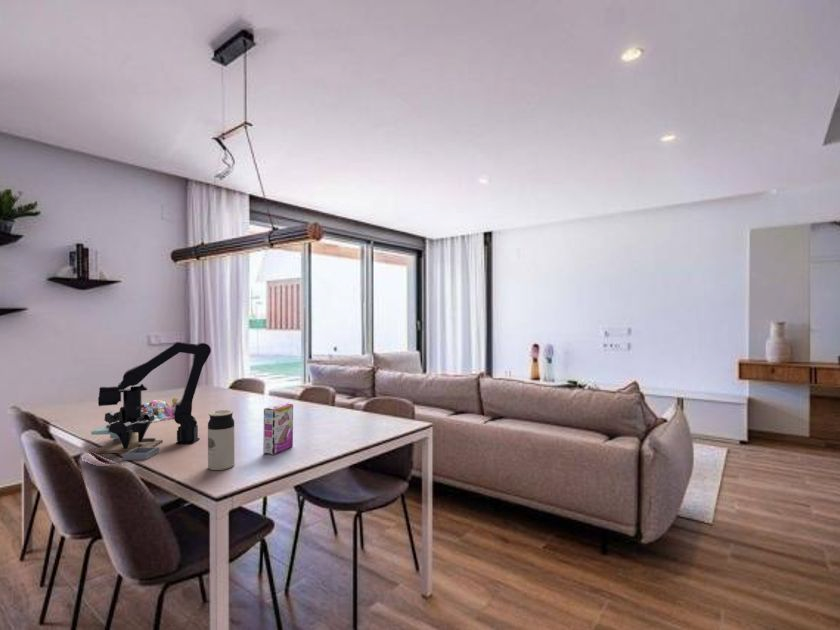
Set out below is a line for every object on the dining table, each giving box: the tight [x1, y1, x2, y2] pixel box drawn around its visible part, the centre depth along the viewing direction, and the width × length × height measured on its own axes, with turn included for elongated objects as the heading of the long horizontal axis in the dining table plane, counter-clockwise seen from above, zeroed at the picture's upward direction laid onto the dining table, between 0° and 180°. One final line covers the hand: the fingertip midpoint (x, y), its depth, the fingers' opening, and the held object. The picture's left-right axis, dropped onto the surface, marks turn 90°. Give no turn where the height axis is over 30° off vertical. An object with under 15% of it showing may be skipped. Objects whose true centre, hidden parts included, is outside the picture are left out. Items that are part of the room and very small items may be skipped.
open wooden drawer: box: [93, 437, 164, 454], centre depth 169 cm, size 18×12×2 cm
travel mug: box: [207, 409, 236, 471], centre depth 147 cm, size 8×8×18 cm
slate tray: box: [122, 446, 160, 461], centre depth 158 cm, size 8×8×2 cm
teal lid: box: [90, 423, 119, 439], centre depth 168 cm, size 6×11×6 cm, turn 2°
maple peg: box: [127, 432, 138, 449], centre depth 166 cm, size 4×4×6 cm
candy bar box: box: [262, 402, 294, 456], centre depth 164 cm, size 11×5×16 cm, turn 159°
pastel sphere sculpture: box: [142, 397, 180, 423], centre depth 218 cm, size 25×24×9 cm
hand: (132, 445), depth 166 cm, fingers open, 8 cm apart
